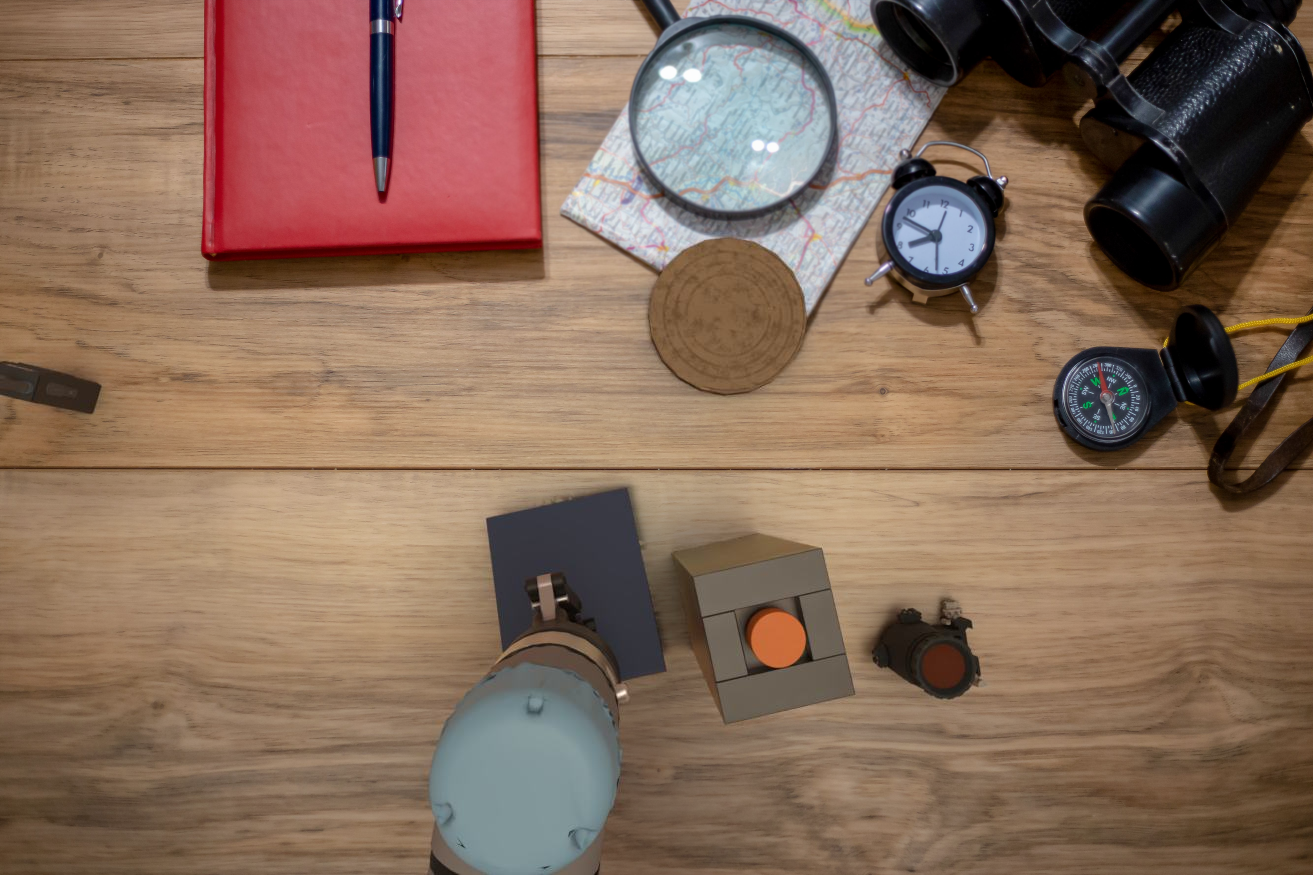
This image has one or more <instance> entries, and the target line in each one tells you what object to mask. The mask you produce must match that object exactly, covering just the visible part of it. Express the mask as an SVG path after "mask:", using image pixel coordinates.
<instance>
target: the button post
mask: <svg viewBox="0 0 1313 875" xmlns="http://www.w3.org/2000/svg"><path fill="white" fill-rule="evenodd" d="M823 550H824V549H823V548H822V547H819V546H815V545H810V544H807V543H802V542H798V541H793V540H790V539H785V538H782V537H781V538H780V537H777V536H772V535H768V534H765V533H759V532H758V533H753V534H748V535H743V536H739V537H735V538H731V539H726V540H721V541H716V542H712V543H708V544H704V545H699V546H695V547H690V548H685V549H681V550H680V549H679V550H675V551H672V552H671V555H672V560H673V565H674V568H675V574H676V578H677V582H678V583H677V584H678V587H679V593H680V597H681V601H682V602H681V603H682V607H683V611H684V615H685V620H686V624H687V629H688V634H689V639H690V643H691V648H692V651H693V654H694V656H695V659H696V661H697V663H698V665H699V668H700V670H701V673H702V675H703V677H704V680H705V682H706V685H707V686H708V689H709V692H710V694H711V696H712V698H713V701H714V704H715V705H716V708H717V710H718V712H719V715H720V717H721V719H722V722H723V724H724V725H730V724H734V723H738V722H739V723H740V722H742V721H743V722H744V721H747V720H752V719H756V718H761V717H764V716H770V715H774V714H778V713H782V712H786V711H790V710H795V709H799V708H803V707H808V706H812V705H817V704H820V703H825V702H830V701H834V700H838V699H843V698H847V697H851V696H855V695H856V691H855V686H854V682H853V681H854V680H853V677H852V673H851V669H850V664H849V660H848V656H847V652H846V648H845V642H844V638H843V634H842V629H841V625H840V620H839V617H838V612H837V607H836V604H835V599H834V595H833V589H832V586H831V582H830V577H829V576H830V575H829V572H828V568H827V563H826V559H825V554H824V551H823ZM766 608H779V609H782V610H785V611H786V612H788V613H789V614H791V615H792V616H794V617H795V618H796V619H797V620H798V621H799V622H800V623H801V625H802V626H803V629H804V631H805V635H806V645H805V649H804V651H803V653H802V655H801V657H800V658H799V659H798V660H797V661H796V662H795V663H793V664H792V665H789V666H787V667H783V668H774V667H770V666H767V665H766V664H764V663H762V662H761V661H760V660H759V659H758V658H757V657H756V656H755V654H754V653H753V652H752V651H751V649H750V647H749V645H748V643H747V639H746V630H747V626H748V623H749V621H750V620H751V618H752V617H753V616H754V615H755V614H756V613H757V612H759V611H760V610H763V609H766Z"/></svg>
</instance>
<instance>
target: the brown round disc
mask: <svg viewBox="0 0 1313 875" xmlns="http://www.w3.org/2000/svg"><path fill="white" fill-rule="evenodd" d="M648 309H649V310H648V314H647V315H648V323H649V331H650V338H651V342H652V344H653V346H654V348H655V350H656V352H657V354H658V357H659V359H660V360H661V363H662V364H663V365H664V366H665V367H666V368H667V369H668V370H669V371H670V372H671V373H672V374H673V375H674V376H675V377H676V378H677V380H679V381H681V382H683V383H684V384H686V385H688V386H689V387H692V388H693V389H695V390H697V391H699V392H703V393H707V394H713V395H716V396H717V395H718V396H724V397H726V396H733V395H742V394H743V395H744V394H749V393H751V392H753V391H756V390H757V389H760V388H763V387H764V386H766V385H768V384H770V383H772V382H773V381H774V380H775V379H776V378H778V377H779V375H780V374H782V373H783V372H784V371H785V370H786V369H787V368H788V367H789V366H790V365H791V364H792V363H793V361H794V359H795V358H796V356H797V353H798V351H799V350H800V348H801V346H802V344H803V343H804V338H805V332H806V326H807V321H808V314H807V306H806V300H805V293H804V291H803V289H802V287H801V285H800V283H799V281H798V278H797V277H796V274H795V273H794V270H792V269H791V267H789V265H787V264H786V262H785V261H784V260H783V259H782V258H781V257H780V256H779V255H778V253H776V252H774V251H772V250H770V249H769V248H767V247H765V246H763V245H761V244H760V243H758V242H755V241H753V240H749V239H743V238H737V237H732V236H725V237H718V238H717V237H716V238H709V239H704V240H702V241H700V242H698V243H695V244H693V245H690V246H689V247H687V248H684V249H683V250H681V251H680V252H679V253H678V254H676V256H675V257H673V259H672V260H671V261H669V263H667V264H666V265H665V266H664V268H663V270H662V272H661V273H660V275H659V277H658V278H657V280H656V282H655V284H654V286H653V288H652V293H651V299H650V303H649V308H648Z"/></svg>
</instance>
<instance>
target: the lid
mask: <svg viewBox="0 0 1313 875" xmlns="http://www.w3.org/2000/svg"><path fill="white" fill-rule="evenodd" d="M628 489H629V488H628V487H622V488H619V489H614V490H609V491H604V492H600V493H594V494H589V495H585V496H581V497H577V498H572V499H568V500H562V501H557V502H554V503H549V504H545V505H539V506H536V507H529V508H526V509H522V510H521V509H520V510H517V511H512V512H507V513H503V514H499V515H494V516H489V517H486V518H485V522H486V530H487V538H488V546H489V547H488V548H489V554H490V562H491V569H492V570H491V571H492V577H493V586H494V595H495V602H496V603H495V604H496V611H497V618H498V625H499V626H498V627H499V633H500V634H499V635H500V641H501V642H500V643H501V649H502V650H501V651H502V654H503V653H504V652H505V651H506V650H507V649H508V647H509V646H510V645H511V644H512V643H513V641H514V640H515V639H516V638H518V637H519V636H520V635H521V634H522V633H524V632H525V631H527V630H528V629H530V628H531V627H533V618H534V616H535V614H536V613H538V611H536V610H533V609H532V605H531V600H530V598H529V596H528V593H527V592H526V591H525V587H524V585H526V579H528V578H533V577H537V576H541V575H546V574H551V573H555V572H560V571H562V572H563V574H564V576H566V580H567V584H568V585H569V587H570V588H571V589H572V590H573V591H574V592H575V594H576V595H577V596H578V598H579V600H580V601H581V603H582V608H581V613H577V614H576V615H580V618H581V620H582V619H586V618H591V617H594V620H595V625H596V631H597V633H596V634H598V635H599V636H600V637H601V638H602V639H603V640H604V641H605V642H606V643H607V644H608V646H609V647H610V648H611V650H612V651H613V653H614V655H615V657H616V659H617V662H618V665H619V668H620V673H621V681H622V682H626V681H629V680H634V679H638V678H642V677H648V676H652V675H656V674H661V673H664V672H667V666H666V661H665V657H664V656H665V655H664V652H663V647H662V643H661V637H660V634H659V628H658V625H657V618H656V615H655V609H654V605H653V601H652V597H651V592H650V586H649V582H648V578H647V572H646V568H645V563H644V559H643V554H642V549H641V545H640V541H639V534H638V531H637V526H636V521H635V517H634V512H633V508H632V504H631V499H630V494H629V490H628Z"/></svg>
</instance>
